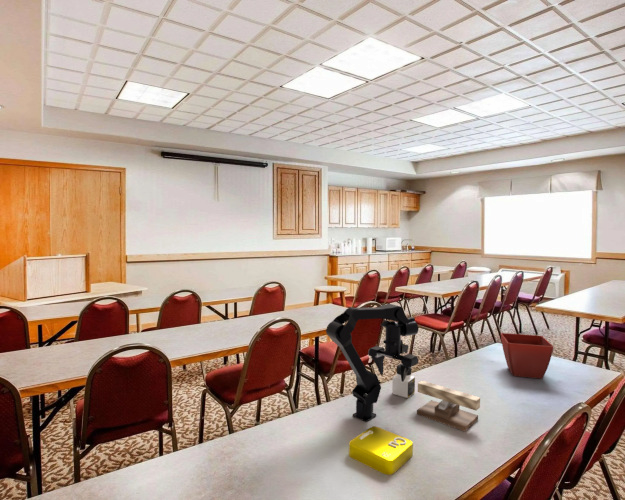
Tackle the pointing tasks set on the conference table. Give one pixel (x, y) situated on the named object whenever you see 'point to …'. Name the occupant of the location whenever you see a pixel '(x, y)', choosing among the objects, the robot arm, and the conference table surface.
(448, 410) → the balance stand
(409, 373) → the medicine bottle
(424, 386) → the beech stick
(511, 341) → the plant pot
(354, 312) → the robot arm
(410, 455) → the element tile
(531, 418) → the conference table surface
